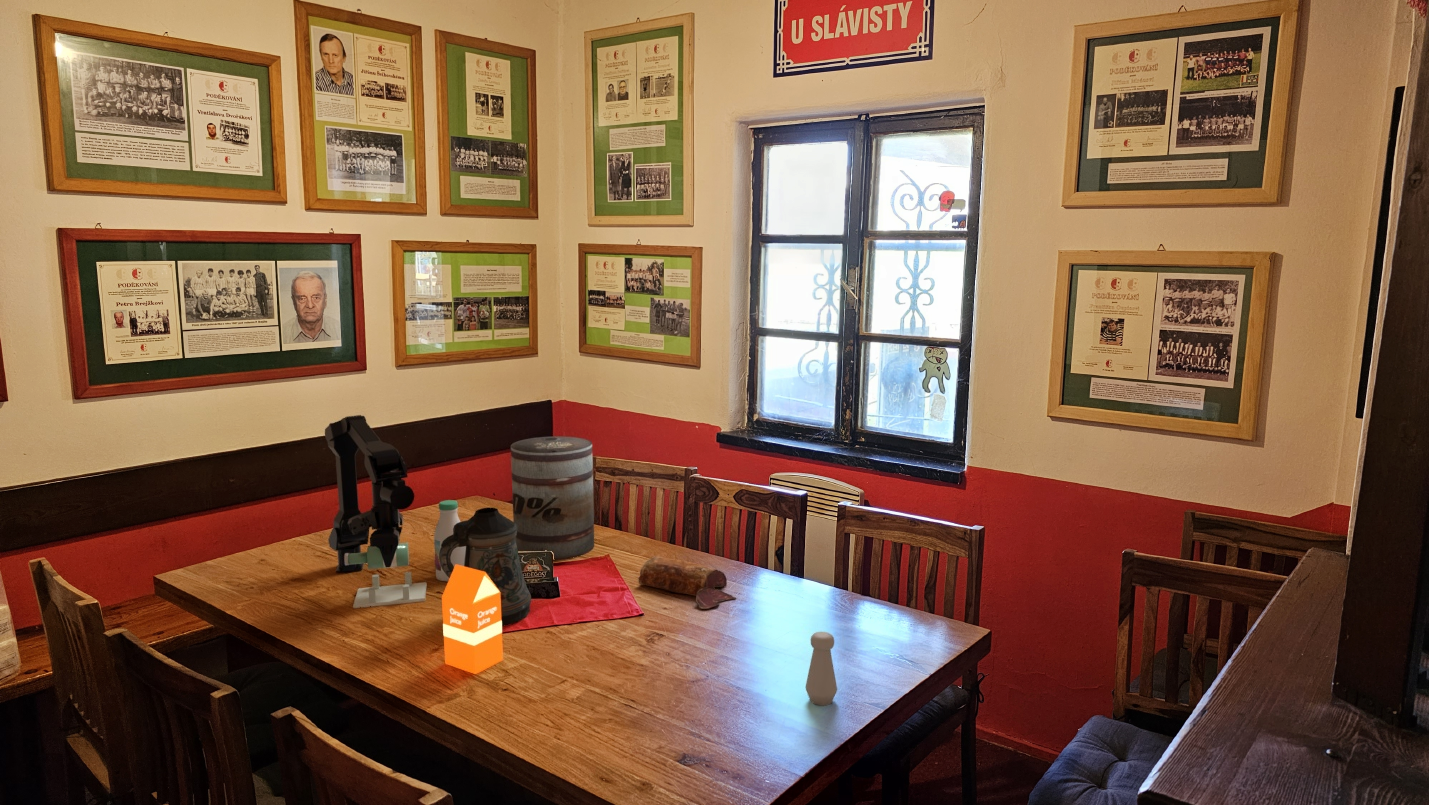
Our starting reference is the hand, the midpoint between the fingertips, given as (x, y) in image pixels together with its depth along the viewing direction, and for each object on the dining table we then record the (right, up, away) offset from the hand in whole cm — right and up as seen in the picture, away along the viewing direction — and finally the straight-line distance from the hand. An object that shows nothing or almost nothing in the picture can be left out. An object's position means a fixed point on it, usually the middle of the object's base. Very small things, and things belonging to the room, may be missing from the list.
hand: (389, 562), depth 214 cm
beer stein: (+27, -11, -11) cm, 31 cm away
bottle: (-3, -1, -1) cm, 3 cm away
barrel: (+33, -3, +38) cm, 51 cm away
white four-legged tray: (0, -8, +1) cm, 9 cm away
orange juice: (+30, -14, -34) cm, 47 cm away
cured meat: (+73, -9, +5) cm, 73 cm away
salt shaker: (+99, -17, -49) cm, 111 cm away
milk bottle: (+11, -6, +15) cm, 19 cm away
